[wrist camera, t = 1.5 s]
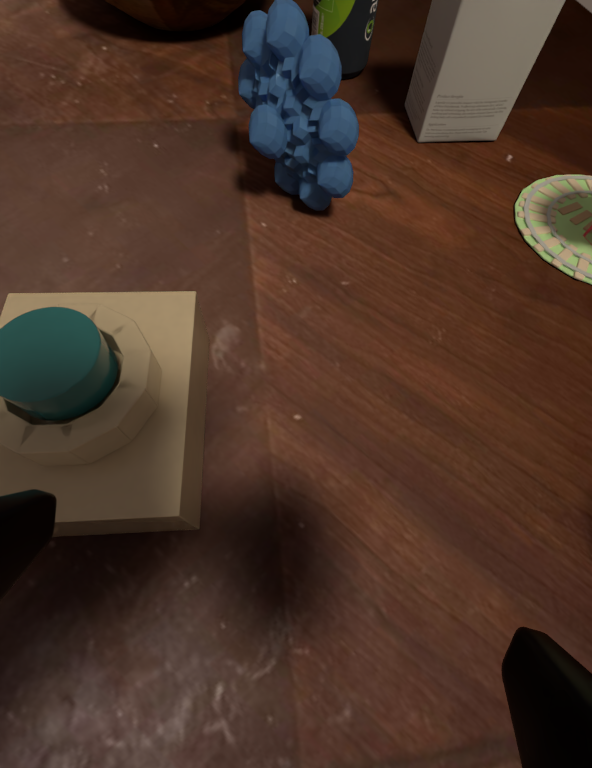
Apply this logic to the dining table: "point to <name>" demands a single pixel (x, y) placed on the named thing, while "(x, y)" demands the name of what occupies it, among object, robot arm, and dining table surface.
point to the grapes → (297, 104)
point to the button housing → (120, 420)
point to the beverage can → (346, 30)
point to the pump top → (55, 363)
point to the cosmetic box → (474, 65)
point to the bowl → (178, 12)
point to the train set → (559, 222)
